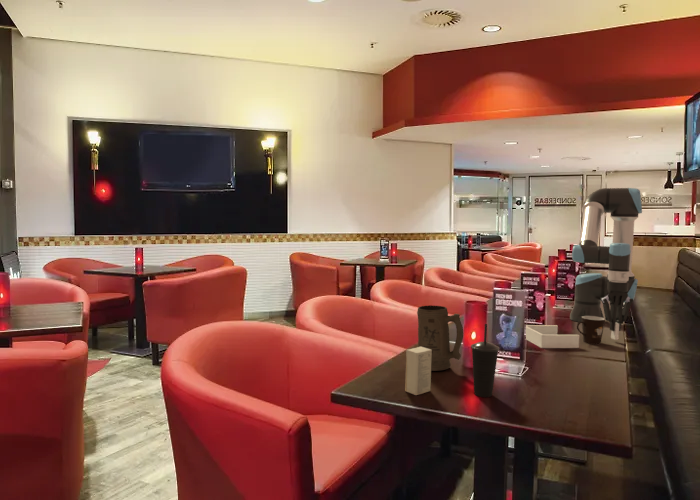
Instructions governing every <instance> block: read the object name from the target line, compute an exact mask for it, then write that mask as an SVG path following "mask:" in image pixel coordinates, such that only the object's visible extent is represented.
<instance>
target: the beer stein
mask: <svg viewBox="0 0 700 500" xmlns="http://www.w3.org/2000/svg"><path fill="white" fill-rule="evenodd" d="M416 314H417V324H418V328H417V336H418V337H417V338H418V341H417V343H418V344H417V347H420V346H421V347H425V348H428V349H431V350H432V355H431V372H432V371H433V372H434V371H435V372H436V371H437V372H438V371H444V370H445V371H446V370H448V369H449V368H451V361H450V360H451V359H456V360H458V361H459V360H461V356H462V355H461V354H460V353H461V352H460V348H461V345H462V343H463V340H464V328H463V324H462V321H461V314H460V313H454V314H453V315H452V314H451V315H449V312H448V308H447V307H446V306H443V305H442V306H441V305H432V304H431V305H421V306H418V307H417V311H416ZM450 322H451V323H454V325H455V328H456V338H455V341H454V342H455V343H454V345H453V350H451V344H450V343H451V342H450V341H451V340H450V327H449V323H450Z"/></svg>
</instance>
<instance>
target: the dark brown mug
mask: <svg viewBox="0 0 700 500" xmlns="http://www.w3.org/2000/svg"><path fill="white" fill-rule="evenodd" d="M605 322H606V320H605V317H604V318H601V317H596V316H582V322H578V323H577V324H576V329H577V331H578V333H580V334H581V335H582V341H583V343H585V344H587V345H588V344H589V345H601V343H602V338H603V332H604V328H605V327H604V326H605ZM580 325H581V328H582V331H581V330H580V327H579V326H580Z"/></svg>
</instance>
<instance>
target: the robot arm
mask: <svg viewBox="0 0 700 500" xmlns="http://www.w3.org/2000/svg"><path fill="white" fill-rule="evenodd" d="M641 195H642V194H641V190H640V189H639V188H636V187H635V188H634V187H621V188H620V187H615V188H613V187H610V188H608V187H603V188H599V189H597V190H595V191H592V193H590V194H589V195H588V196H587V197H586V198H585V200H584V202H583V203H582V207H581V212H582V214H583V215H582V220H581V227H580V228H581V229H580V235H579V239H578V244H574V245H573V246H572V254H571V258H572V261H573V263H582V264H597V265H598V264H601V265H608V271H607V273H606V276H603V274H602V273H601V272H599V273H597V272H595V273H594V272H593V273H591V272H590V273H581V274H578V275H577V276H576V277H575V287H574V288H575V289H574V304H573V307H572V309H571V312H570V314H569V320H571V321H573V322H578V323H579V322H582V316H596V317H601V318H604V319H605V322H606V321H607V322H609V331H610V332H611V333H610V338H611V340H615V341H616V340H619V338H620V337H619V333H620V331H621V328H622V324H624V323H626V321H627V319H628V316H629V312H630V308H631V305H632V303H633V302H634V300H635V297H636V292H637V287H638V283H639V280H638V279H637V278H635V274H634V273H633V271H632V265H633V264H632V263H633V248H634V246H633V245H634V231H635V221H636V220H637V219H638V218H639V215H640V214H643V209H642V208H643V207H642V206H643V205H642V198H641ZM604 214H610V218H611V219H612V220H613V226H612V227H613V229H612V243H610V244H609V246H607V245H606V246H604V245H599V238H600V237H599V236H600V228H601V220H602V216H603V215H604ZM601 303H602V307H603V309H602V307H601ZM602 310H603V311H602ZM603 313H604V314H603Z"/></svg>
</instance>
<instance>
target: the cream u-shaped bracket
mask: <svg viewBox="0 0 700 500" xmlns="http://www.w3.org/2000/svg"><path fill="white" fill-rule="evenodd" d="M525 325H526V339H525V340H526V341H528V342H529V343H532V344H534V345H535V346H537V347H538V348H540V349H579V347H580V335H579V334H558V331H559V330H558V329H559V327H558V325H557V324H555V325H554V324H553V325H552V324H550V325H549V324H547V325H545V324H539V325H538V324H536V325H535V324H525Z"/></svg>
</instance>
